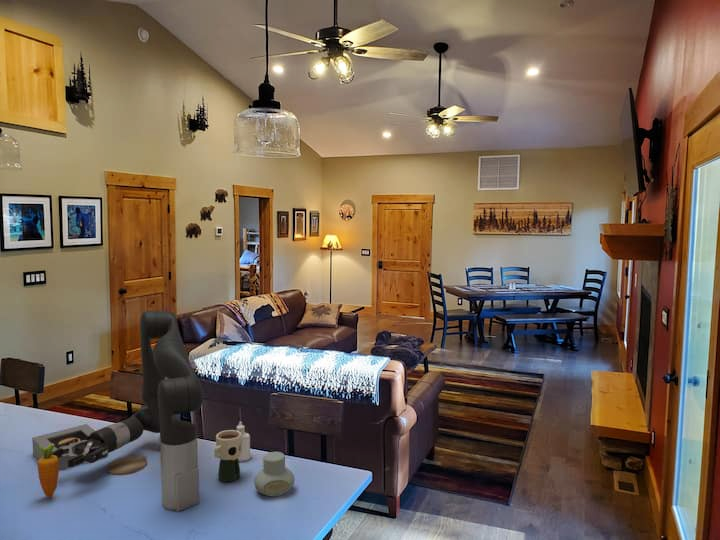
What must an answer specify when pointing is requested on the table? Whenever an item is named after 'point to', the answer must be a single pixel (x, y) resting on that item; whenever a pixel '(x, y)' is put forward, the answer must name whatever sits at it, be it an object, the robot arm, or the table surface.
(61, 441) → the button
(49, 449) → the carrot
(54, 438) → the box
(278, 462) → the air freshener
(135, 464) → the walnut pad
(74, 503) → the table surface
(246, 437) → the eye dropper bottle
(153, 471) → the table surface
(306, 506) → the table surface
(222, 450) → the character mug
